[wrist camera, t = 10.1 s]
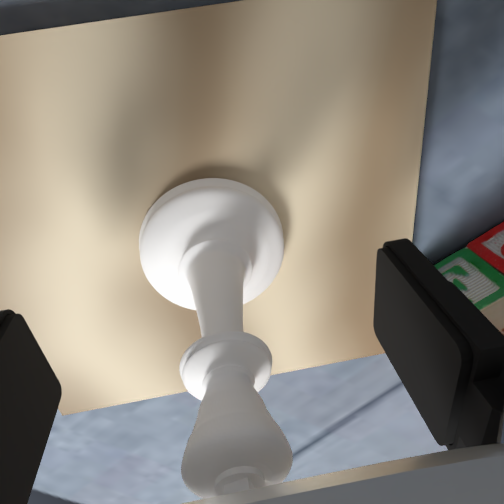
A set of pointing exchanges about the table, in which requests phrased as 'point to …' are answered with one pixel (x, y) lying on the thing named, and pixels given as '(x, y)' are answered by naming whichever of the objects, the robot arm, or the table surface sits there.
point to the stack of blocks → (480, 273)
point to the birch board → (206, 175)
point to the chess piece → (220, 326)
